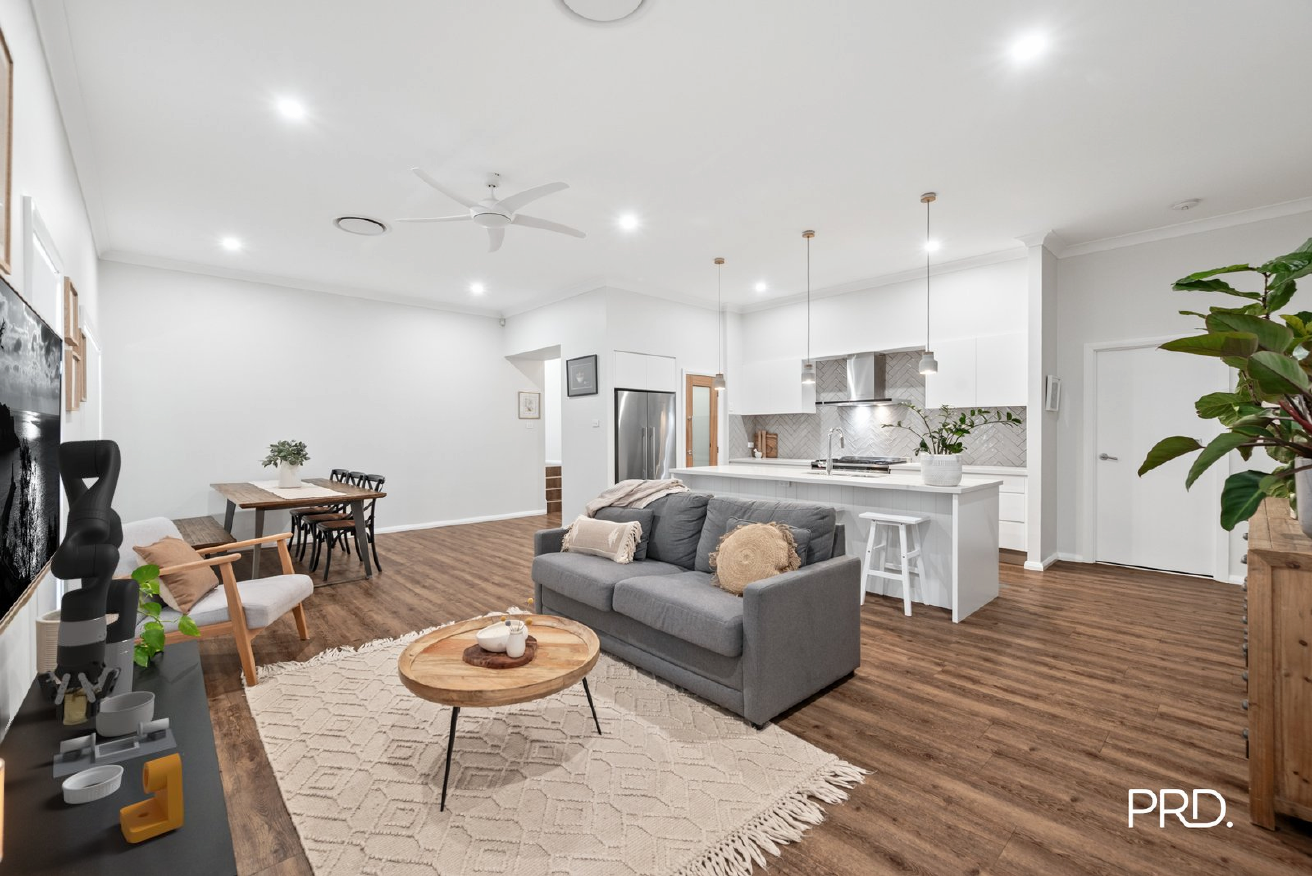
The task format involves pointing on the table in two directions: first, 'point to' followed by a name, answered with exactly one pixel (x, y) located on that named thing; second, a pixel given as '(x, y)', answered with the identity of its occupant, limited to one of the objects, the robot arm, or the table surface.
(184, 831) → the table surface
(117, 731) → the teacup
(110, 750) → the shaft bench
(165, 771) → the bracket
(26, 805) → the table surface
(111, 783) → the ramekin
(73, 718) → the gold knob
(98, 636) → the robot arm
